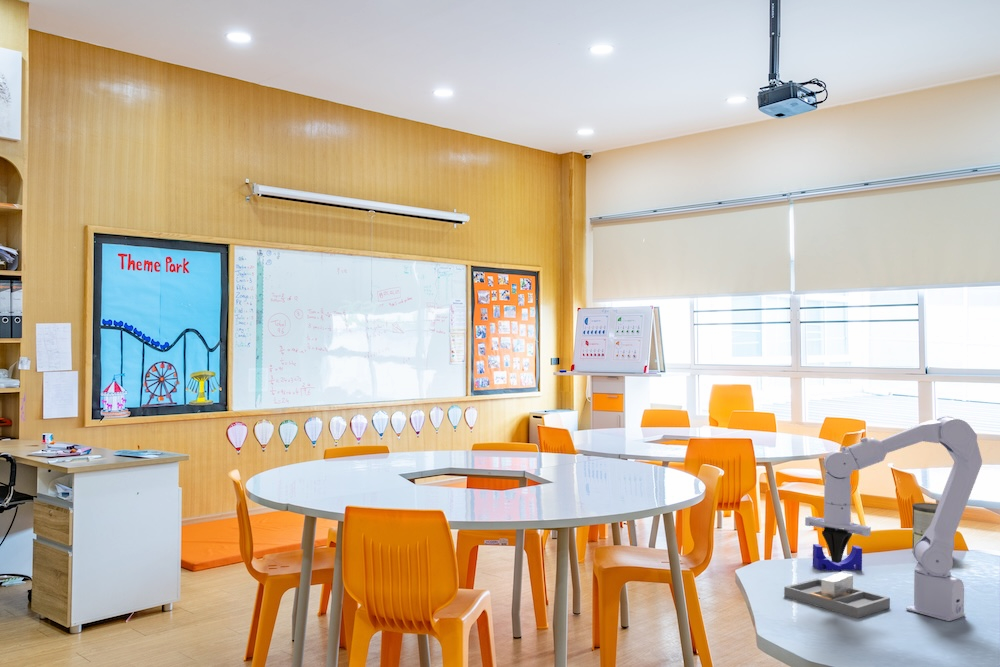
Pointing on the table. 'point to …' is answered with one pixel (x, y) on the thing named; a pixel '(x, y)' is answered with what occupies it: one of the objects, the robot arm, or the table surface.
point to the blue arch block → (847, 564)
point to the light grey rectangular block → (837, 585)
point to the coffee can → (922, 519)
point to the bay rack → (838, 599)
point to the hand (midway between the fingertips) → (836, 561)
